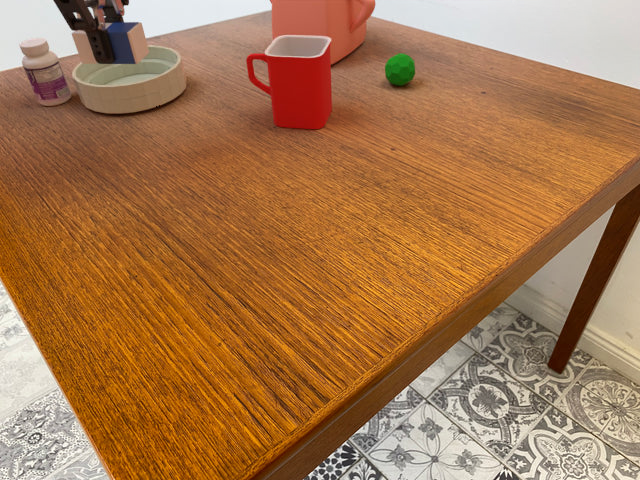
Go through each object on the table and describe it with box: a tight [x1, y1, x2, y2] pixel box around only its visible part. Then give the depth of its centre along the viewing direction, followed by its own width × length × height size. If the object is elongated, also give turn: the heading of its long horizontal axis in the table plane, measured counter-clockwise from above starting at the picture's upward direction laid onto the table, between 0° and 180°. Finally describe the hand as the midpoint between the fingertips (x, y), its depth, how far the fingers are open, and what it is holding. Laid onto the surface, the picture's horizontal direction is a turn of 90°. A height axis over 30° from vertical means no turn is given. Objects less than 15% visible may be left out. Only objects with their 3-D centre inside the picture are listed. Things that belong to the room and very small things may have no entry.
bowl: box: [71, 44, 188, 114], centre depth 86 cm, size 17×17×5 cm
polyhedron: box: [384, 52, 416, 87], centre depth 84 cm, size 5×5×5 cm
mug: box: [245, 35, 333, 130], centre depth 75 cm, size 12×8×11 cm
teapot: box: [269, 0, 376, 65], centre depth 96 cm, size 20×22×14 cm
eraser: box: [71, 21, 149, 64], centre depth 60 cm, size 7×4×4 cm, turn 83°
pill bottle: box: [18, 37, 72, 107], centre depth 84 cm, size 5×5×10 cm
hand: (114, 55), depth 61 cm, fingers closed on eraser, 3 cm apart
